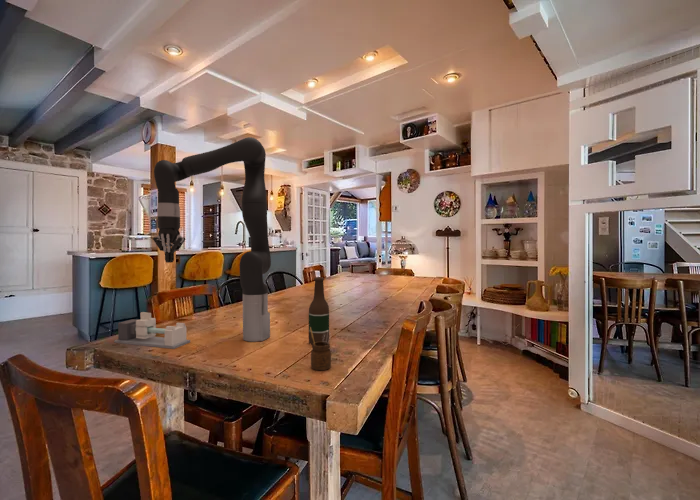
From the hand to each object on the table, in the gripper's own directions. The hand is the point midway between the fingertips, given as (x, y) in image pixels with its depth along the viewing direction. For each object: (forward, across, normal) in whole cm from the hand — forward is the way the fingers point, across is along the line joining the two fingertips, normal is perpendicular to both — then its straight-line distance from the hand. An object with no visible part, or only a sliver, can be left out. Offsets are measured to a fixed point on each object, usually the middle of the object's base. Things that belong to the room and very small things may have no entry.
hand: (169, 262), depth 129 cm
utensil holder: (+29, -64, +11) cm, 71 cm away
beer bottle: (+29, -55, -12) cm, 63 cm away
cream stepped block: (+27, +6, +5) cm, 28 cm away
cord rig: (+29, +3, +5) cm, 30 cm away
